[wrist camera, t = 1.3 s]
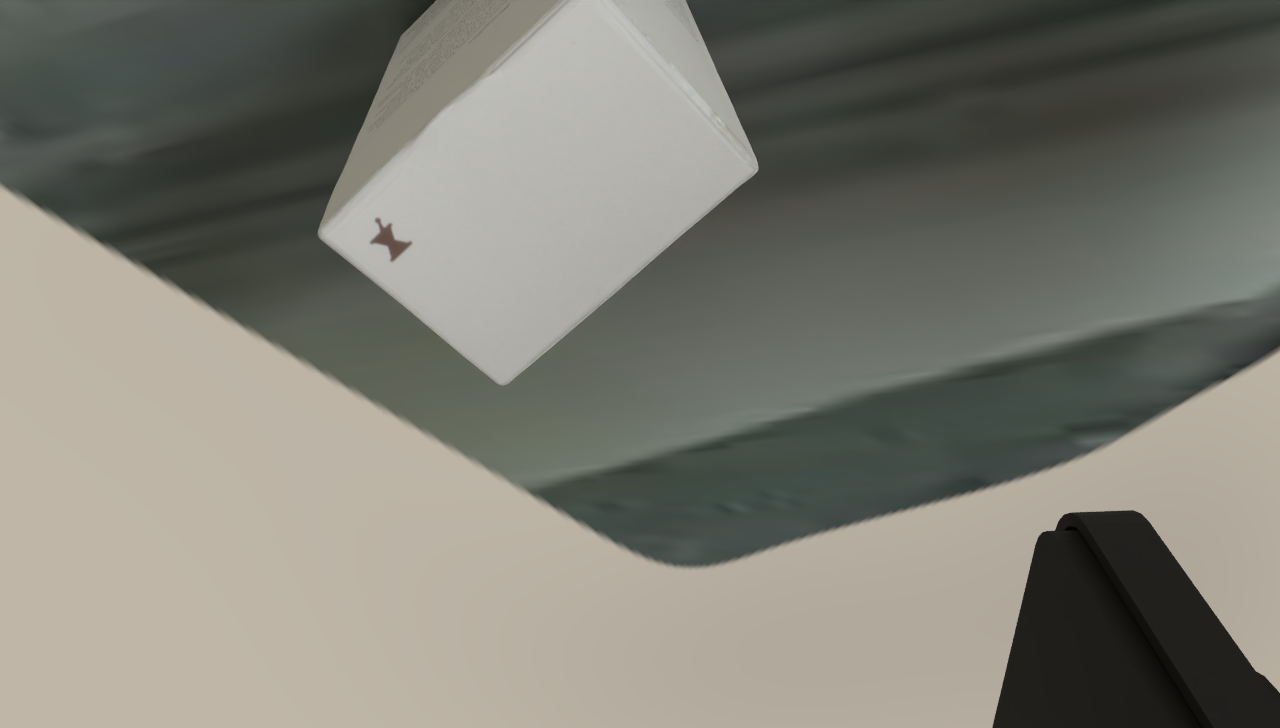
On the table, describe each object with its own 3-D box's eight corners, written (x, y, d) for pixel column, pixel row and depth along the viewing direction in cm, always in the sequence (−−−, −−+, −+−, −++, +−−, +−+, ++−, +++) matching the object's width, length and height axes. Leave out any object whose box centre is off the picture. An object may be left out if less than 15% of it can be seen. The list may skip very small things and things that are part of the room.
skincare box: (520, 155, 30) (495, 401, 19) (397, 34, 28) (299, 236, 18) (695, -6, 28) (770, 173, 18) (576, -146, 26) (582, -36, 16)
